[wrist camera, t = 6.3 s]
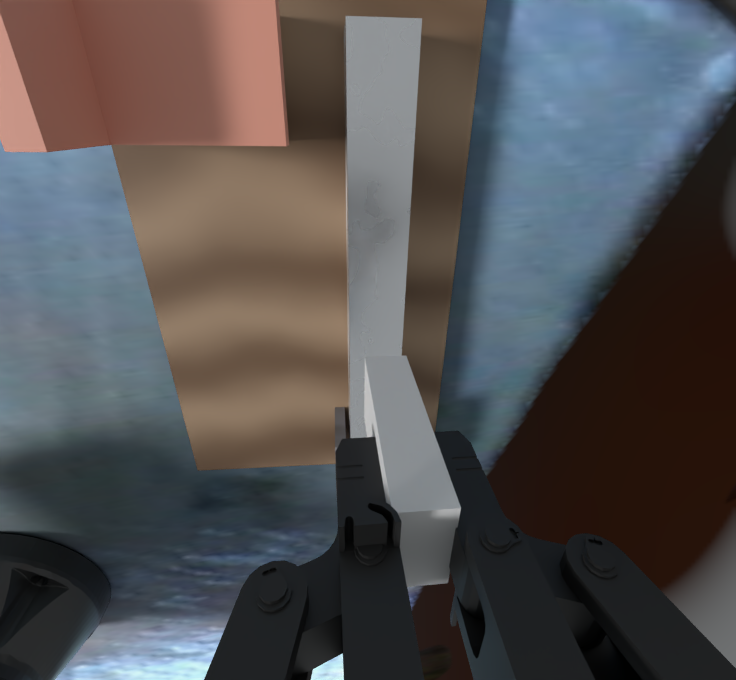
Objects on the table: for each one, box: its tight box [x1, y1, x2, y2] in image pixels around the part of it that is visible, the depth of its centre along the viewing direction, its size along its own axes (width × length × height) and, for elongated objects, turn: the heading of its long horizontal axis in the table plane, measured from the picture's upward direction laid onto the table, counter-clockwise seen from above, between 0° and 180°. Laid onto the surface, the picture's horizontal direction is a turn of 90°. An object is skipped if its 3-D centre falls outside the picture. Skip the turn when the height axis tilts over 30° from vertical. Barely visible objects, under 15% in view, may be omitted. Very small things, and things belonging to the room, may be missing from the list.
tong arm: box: [345, 16, 422, 438], centre depth 22 cm, size 24×3×2 cm, turn 179°
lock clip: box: [0, 0, 289, 152], centre depth 14 cm, size 5×8×5 cm, turn 89°
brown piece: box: [112, 0, 487, 489], centre depth 23 cm, size 30×18×6 cm, turn 179°
